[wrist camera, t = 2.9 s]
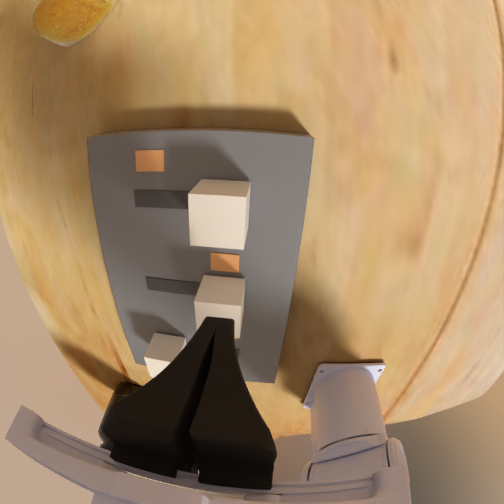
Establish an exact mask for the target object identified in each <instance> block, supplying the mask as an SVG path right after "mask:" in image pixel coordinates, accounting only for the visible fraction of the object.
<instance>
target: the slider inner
mask: <svg viewBox="0 0 504 504" xmlns="http://www.w3.org/2000/svg"><path fill="white" fill-rule="evenodd" d="M186 345H187V343H186V338H185V337H178V336H172V335H166V334H160V333H154V335H153V337H152V339H151V341H150V344H149V346H148V348H147V350H146V353H145V355H144V359H145V362H146V365H147V368H148V371H149V373H150V376H151V377H155V376H157V375H158V374H159V373H160V372H161V371H162V370H163V369H164V368H166V367H167V366H168V365H169V364H170V363H171V362H172V361H173V360H174V358H175V357H176V356H177V355H178V354H179V353H180V352H181V351H182V349H183V348H184V347H185V346H186Z"/></svg>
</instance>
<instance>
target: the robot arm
mask: <svg viewBox="0 0 504 504" xmlns="http://www.w3.org/2000/svg"><path fill="white" fill-rule="evenodd" d="M385 367H386V365H385V363H354V364H320V365H319V366H318V368H317V370H316V373H315V375H314V378H313V381H312V383H311V386H310V388H309V391H308V393H307V395H306V398H305V400H304V403H303V408H310V412H311V431H312V446H313V449H314V451H315V453H312V461H310V462H308V463H307V464H306V465H305V467H304V469H303V471H302V473H301V476H300V481H296V482H275V481H274V482H273V481H272V476H273V469H274V467H273V466H274V462H275V459H276V457H277V452H276V447H275V443H274V441H273V438H272V435H271V432H270V430H269V428H268V427H267V425H266V423H265V422H264V420H263V419H262V417H261V415H260V413H259V411H258V410H257V408H256V406H255V404H254V402H253V400H252V398H251V395H250V393H249V391H248V388H247V386H246V384H245V381H244V378H243V375H242V372H241V369H240V365H239V362H238V358H237V353H236V348H235V321H234V320H233V319H230V318H220V317H210V316H207V317H205V319H204V320H203V322H202V324H201V325H200V327H199V328H198V330H197V331H196V333H195V334H194V335H193V337H192V338H191V339H190V341H189V342H188V343H187V345H186V346H185V347H184V348H183V349H182V351H181V352H180V353H179V354H178V355H177V356H176V357H175V358H174V360H173V361H172V362H171V363H170V364H169V365H168V366H167V367H166V368H164V369H163V370H162V371H161V372H160V373H159V374H158V375H157V376H155V377H154V378H153V379H152V380H150V381H149V382H148V383H147V384H145V385H144V386H142V387H141V388H139V389H138V390H136V391H135V392H133V393H132V394H130V395H129V396H127V397H125V398H123V399H121V400H120V401H118V402H116V403H114V404H113V405H112V406H111V408H110V410H109V411H108V413H107V415H106V418H105V420H104V423H103V425H102V430H103V432H104V433H105V435H106V436H107V437H108V438H109V439H110V440H111V441H112V442H113V443H114V445H113V448H112V451H109V450H106V449H103V448H101V447H98V446H96V445H93V444H91V443H88V442H86V441H83V440H81V439H79V438H77V437H74V436H72V435H70V434H68V433H66V432H64V431H62V430H59V429H58V428H56V427H53V426H52V425H50V424H48V423H46V422H44V420H43V419H42V418H41V417H40V416H39V415H38V414H36V413H35V412H33V411H31V410H30V409H28V408H26V407H24V406H21V407H20V409H19V411H18V413H17V415H16V416H15V419H14V421H13V422H12V425H11V426H10V428H9V431H8V433H7V435H6V437H5V438H6V439H7V440H8V441H9V442H10V443H12V444H13V445H14V446H16V447H17V448H18V449H19V450H21V451H22V452H23V453H25V454H26V455H27V456H29V457H30V458H32V459H33V460H35V461H36V462H38V463H40V464H41V465H43V466H45V467H46V468H48V469H50V470H51V471H53V472H55V473H57V474H58V475H60V476H62V477H64V478H66V479H67V480H70V481H71V482H73V483H75V484H77V485H79V486H81V487H83V488H86V489H87V490H90V491H92V492H94V496H93V499H92V503H91V504H412V503H411V496H410V486H409V473H408V467H407V462H406V457H405V453H404V449H403V446H402V444H401V442H400V441H399V440H397V439H395V438H394V437H393V438H391V439H388V437H387V435H386V430H385V425H384V420H383V415H382V411H381V406H380V402H379V398H378V394H377V389H376V385H375V383H376V381H377V380H378V378H379V377H380V375H381V374H382V372H383V370H384V369H385ZM123 470H124V471H123ZM198 470H199V474H198ZM125 471H127V472H130V473H133V474H137V475H140V476H143V477H147V478H150V479H154V480H158V481H162V482H166V483H170V484H174V485H179V486H184V487H188V488H194V489H200V490H206V491H212V492H220V493H228V494H238V495H246V496H245V497H244V500H242V499H234V498H228V497H221V496H216V495H210V494H205V493H200V492H196V491H192V490H189V489H184V488H180V487H176V486H170V485H167V484H163V483H159V482H155V481H151V480H148V479H144V478H141V477H138V476H134V475H131V474H128V473H127V472H125Z"/></svg>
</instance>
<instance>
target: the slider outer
mask: <svg viewBox="0 0 504 504" xmlns="http://www.w3.org/2000/svg"><path fill="white" fill-rule="evenodd" d="M250 189H251V182H248V181H232V180H214V179H201V180H200V181H199V182H198V184H197V185H196V186H195V187H194V188H193V189H192V190H191V191H190V192H189V193H188V208H189V233H190V245H192V246H204V247H215V248H227V249H239V250H244V246H245V241H246V236H247V231H248V223H249V206H250Z"/></svg>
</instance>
